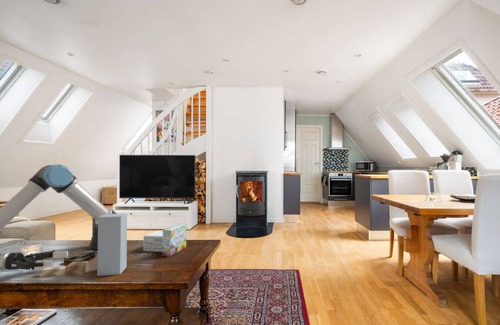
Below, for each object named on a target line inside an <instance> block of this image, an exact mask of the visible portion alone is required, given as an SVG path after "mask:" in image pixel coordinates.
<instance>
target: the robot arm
mask: <svg viewBox="0 0 500 325" xmlns="http://www.w3.org/2000/svg"><path fill="white" fill-rule="evenodd" d="M77 179H78V178H77V176H75V175H74V174H73V171H72V170H71V169H70V168H69V167H68V166H66V165H63V164H57V163H56V164H48V165H45V166H42V167H41V168H40V169H39V170H38V171H36V173H34V174H33V176H31V177H30V179H28V180H27V184H26V185H25V186H23V188H21V189H20V190H19V191H18V192H17V193H16V194H15V195H13V196H12V197H11V198H10V199H9V200H7V202H6V203H4V205H2V206H1V207H0V231H2V230H3V229H4V228H5V227H6V226H7V225H8V224H9V223H10V222H11V221H12V220H13V219H15V218H16V217H17V215H18V214H20V213H21V212H22V211H23V210H24V209H25V208H26V207H27V206H28V205H29V204H30V203H32V201H33V200H34V199H35V198H37V197H38V196H39V195H40V194H41V193H45V192H46V191H47V190H48V189H52V190H54V191H55V192H56V193H57V194H64V195H65V197H67V198H68V199H70V200H71V201H72V202H73V203H75V204H76V205H77V206H78V207H79V208H81V209H82V210H83V211H85V213H87V214H88V215H89V216H90V217H91V218H92V227H91V228H92V230H91V231H92V235H91V238H90V240H89V243H88V244H89V245H88V249H89V248H90V249H89V250H91V249H98V217H100V216H102V215H105V214H118V213H117V212H116V211H115V210H113V209H112V208H107V207H106V206H105V205H104V204H103V203H101V202H100V201H99V200H98V199H97V198H95V197H94V196H93V194H92V193H90V192H89V191H88V190H86V189H85V188H84V187H83V186H82V185H81V184H79V183H78V182H77V181H78V180H77ZM68 257H69V251H68V250H67V251H55V250H53V249H52V250H51V251H43V252H36V253H34V252H33V253H29V254H26V255H24V253H23V252H21V251H20V252H18V251H17V252H1V253H0V271H1V272H4V271H13V270H19V269H20V270H25V271H26V270H27V271H29V270H31V271H34V270H35V269H36V268H37V269H38V268H49V267H54V265H53V263H54V262H53V261H54V260H53V259H63V258H68ZM51 258H52V259H51ZM47 259H50V260H47Z"/></svg>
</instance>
